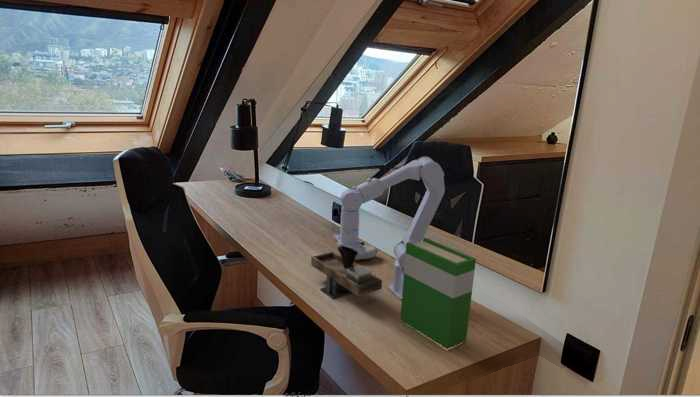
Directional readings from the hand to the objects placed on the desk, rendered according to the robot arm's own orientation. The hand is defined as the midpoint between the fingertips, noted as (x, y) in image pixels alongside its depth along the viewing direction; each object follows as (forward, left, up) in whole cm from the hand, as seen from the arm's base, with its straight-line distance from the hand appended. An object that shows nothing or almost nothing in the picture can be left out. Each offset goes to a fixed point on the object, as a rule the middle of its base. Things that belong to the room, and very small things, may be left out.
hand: (347, 268), depth 147 cm
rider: (-5, -1, -2) cm, 6 cm away
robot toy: (+26, -15, -8) cm, 32 cm away
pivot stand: (+2, 0, -8) cm, 8 cm away
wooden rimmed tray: (+2, 0, -3) cm, 4 cm away
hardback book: (-29, -14, -8) cm, 34 cm away
